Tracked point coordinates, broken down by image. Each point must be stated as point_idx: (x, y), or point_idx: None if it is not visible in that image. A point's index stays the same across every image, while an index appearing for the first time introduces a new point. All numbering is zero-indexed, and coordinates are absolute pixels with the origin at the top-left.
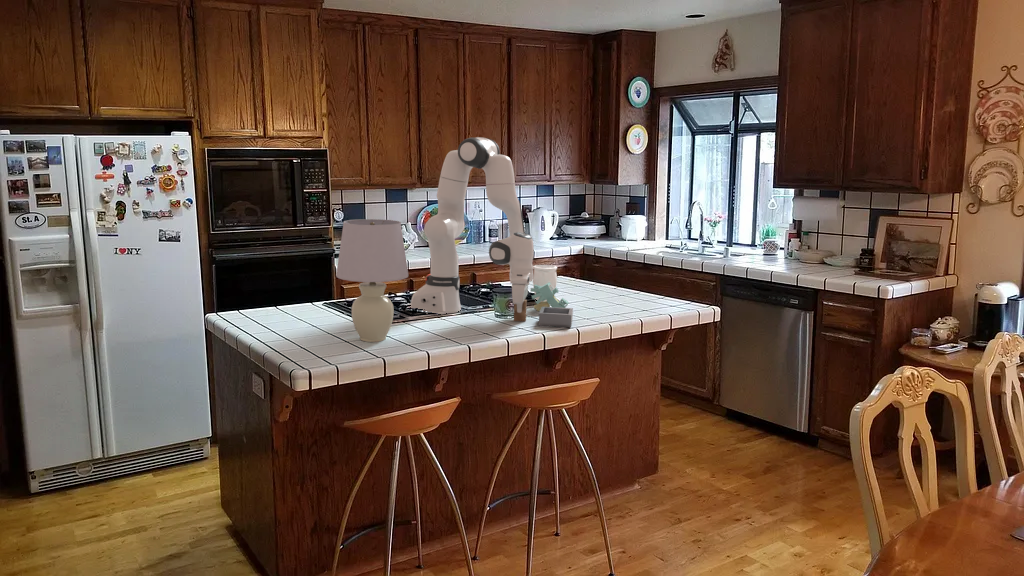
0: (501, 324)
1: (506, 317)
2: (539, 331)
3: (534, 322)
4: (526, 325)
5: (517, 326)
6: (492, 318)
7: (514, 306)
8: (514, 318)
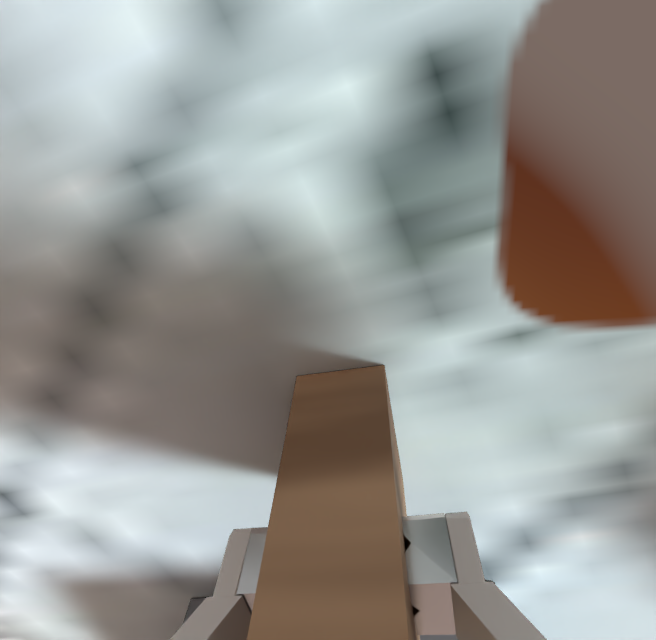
0: (15, 292)
1: (481, 229)
2: (31, 619)
3: None
4: (160, 521)
5: (61, 465)
6: (310, 5)
7: (261, 565)
8: (296, 404)
